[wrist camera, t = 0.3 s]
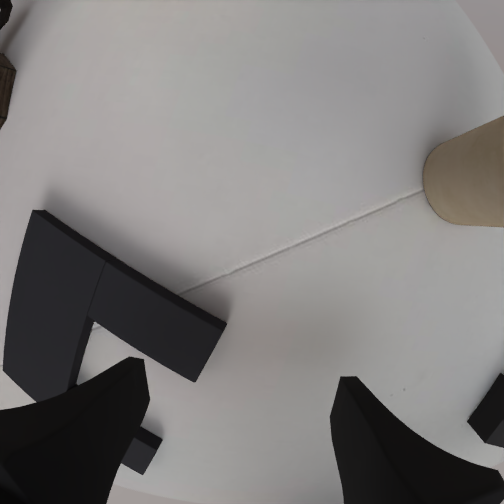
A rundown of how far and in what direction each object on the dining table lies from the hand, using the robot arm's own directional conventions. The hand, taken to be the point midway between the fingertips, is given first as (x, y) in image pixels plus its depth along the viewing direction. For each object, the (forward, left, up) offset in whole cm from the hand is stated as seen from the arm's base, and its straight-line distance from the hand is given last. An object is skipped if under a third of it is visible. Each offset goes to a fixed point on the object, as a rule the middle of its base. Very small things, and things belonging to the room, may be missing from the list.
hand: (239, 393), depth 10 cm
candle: (+14, -8, -9) cm, 18 cm away
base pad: (-9, +9, -9) cm, 16 cm away
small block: (+2, -24, -9) cm, 25 cm away
